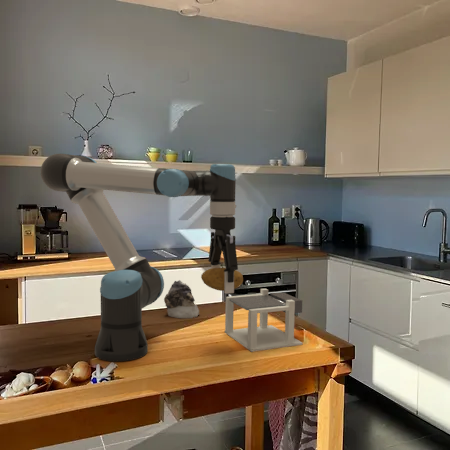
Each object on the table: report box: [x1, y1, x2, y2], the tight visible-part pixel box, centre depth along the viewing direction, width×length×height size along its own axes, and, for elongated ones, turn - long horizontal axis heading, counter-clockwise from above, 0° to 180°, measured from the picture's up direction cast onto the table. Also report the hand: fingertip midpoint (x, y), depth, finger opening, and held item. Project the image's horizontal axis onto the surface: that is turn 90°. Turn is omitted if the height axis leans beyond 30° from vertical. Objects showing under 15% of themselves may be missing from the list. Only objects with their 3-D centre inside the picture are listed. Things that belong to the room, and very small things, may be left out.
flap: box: [229, 292, 303, 314], centre depth 154 cm, size 20×14×4 cm
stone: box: [163, 279, 200, 319], centre depth 179 cm, size 14×10×15 cm
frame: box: [224, 288, 304, 353], centre depth 154 cm, size 18×20×14 cm
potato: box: [200, 267, 244, 292], centre depth 144 cm, size 9×13×7 cm
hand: (222, 289), depth 144 cm, fingers closed on potato, 10 cm apart
